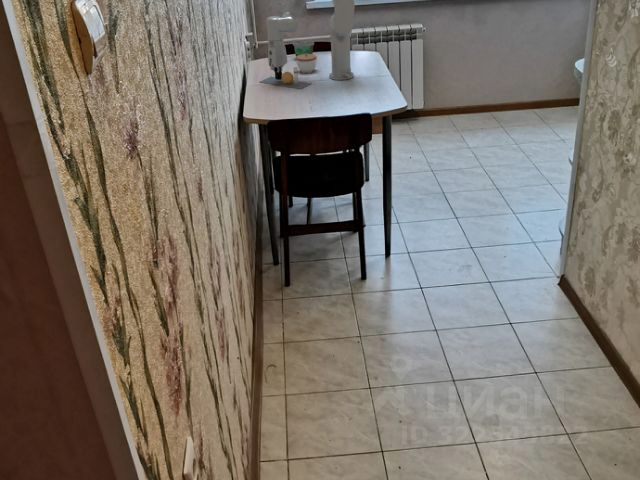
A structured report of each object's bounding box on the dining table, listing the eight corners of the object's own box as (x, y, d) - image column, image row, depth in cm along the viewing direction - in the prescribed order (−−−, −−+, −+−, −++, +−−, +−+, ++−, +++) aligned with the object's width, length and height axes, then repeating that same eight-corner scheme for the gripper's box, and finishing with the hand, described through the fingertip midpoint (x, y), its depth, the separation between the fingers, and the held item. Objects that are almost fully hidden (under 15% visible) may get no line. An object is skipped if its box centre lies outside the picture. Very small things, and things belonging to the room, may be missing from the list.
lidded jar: (314, 74, 345) (314, 56, 341) (294, 73, 347) (293, 56, 343) (319, 68, 354) (318, 50, 350) (299, 68, 356) (298, 50, 352)
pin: (299, 84, 331) (298, 68, 326) (295, 85, 330) (294, 68, 325) (297, 83, 332) (296, 67, 328) (293, 84, 331) (292, 67, 327)
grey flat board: (259, 82, 337) (258, 81, 337) (270, 76, 345) (270, 76, 344) (300, 89, 325) (300, 88, 324) (312, 83, 332) (312, 83, 331)
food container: (290, 60, 370) (289, 42, 365) (294, 57, 375) (293, 39, 370) (311, 61, 366) (310, 43, 361) (315, 58, 371) (314, 40, 366)
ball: (282, 73, 335) (285, 84, 336) (278, 74, 329) (281, 85, 331) (293, 69, 333) (296, 81, 334) (289, 70, 327) (292, 82, 328)
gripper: (272, 47, 319) (275, 84, 329) (290, 39, 330) (293, 76, 339) (260, 45, 323) (263, 82, 333) (278, 38, 334) (281, 74, 343)
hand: (278, 79), depth 336 cm, fingers closed
